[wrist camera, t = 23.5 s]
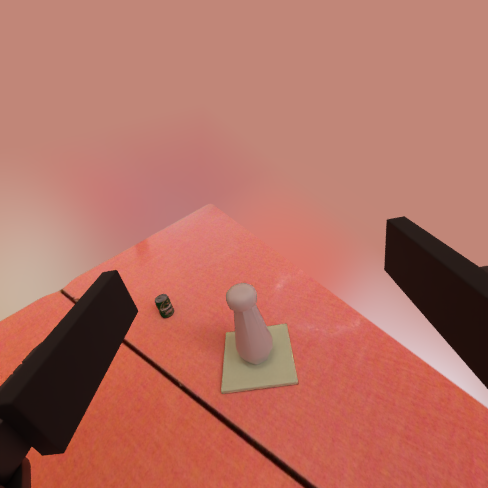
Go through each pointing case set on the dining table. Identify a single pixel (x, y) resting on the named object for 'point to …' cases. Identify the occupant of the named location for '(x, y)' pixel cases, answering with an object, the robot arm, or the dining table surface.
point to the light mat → (259, 365)
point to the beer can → (164, 305)
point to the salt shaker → (249, 324)
